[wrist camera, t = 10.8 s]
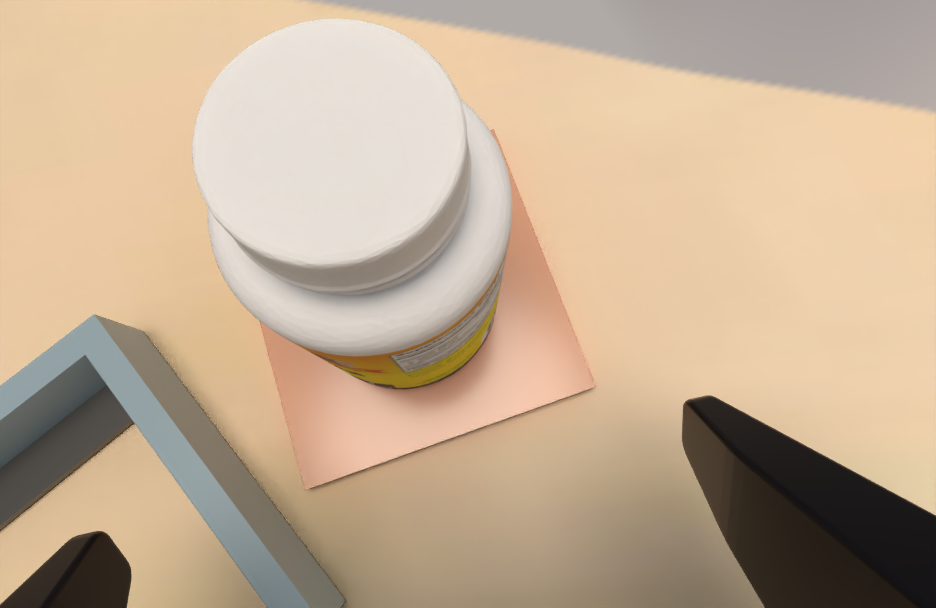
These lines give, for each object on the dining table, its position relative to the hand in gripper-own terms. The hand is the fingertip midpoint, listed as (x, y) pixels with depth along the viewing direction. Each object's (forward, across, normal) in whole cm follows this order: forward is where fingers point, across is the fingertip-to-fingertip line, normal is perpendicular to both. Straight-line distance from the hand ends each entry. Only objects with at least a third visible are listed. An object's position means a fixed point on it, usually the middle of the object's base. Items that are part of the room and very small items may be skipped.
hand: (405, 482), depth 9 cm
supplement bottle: (+10, 0, +2) cm, 10 cm away
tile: (+10, 0, +2) cm, 10 cm away
